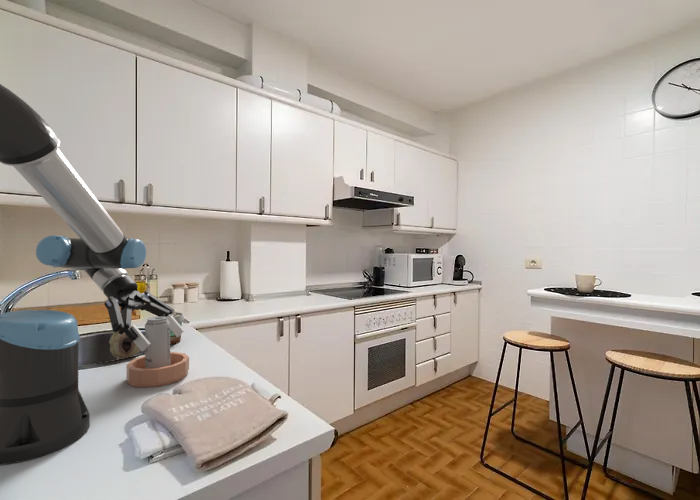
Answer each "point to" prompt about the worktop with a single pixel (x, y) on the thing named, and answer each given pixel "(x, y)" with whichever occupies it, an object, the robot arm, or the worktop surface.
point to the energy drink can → (157, 342)
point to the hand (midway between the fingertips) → (164, 340)
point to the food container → (180, 318)
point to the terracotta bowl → (157, 372)
